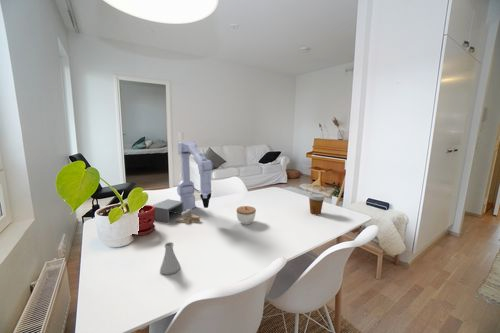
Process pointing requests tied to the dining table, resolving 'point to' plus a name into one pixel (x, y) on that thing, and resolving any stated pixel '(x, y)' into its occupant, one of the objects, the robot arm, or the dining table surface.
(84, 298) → the dining table surface
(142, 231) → the plant pot
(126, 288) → the dining table surface
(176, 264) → the flask
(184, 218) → the tan t-shaped block
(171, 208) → the grey slotted box
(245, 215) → the lidded jar
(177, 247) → the dining table surface
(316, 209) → the disposable coffee cup
